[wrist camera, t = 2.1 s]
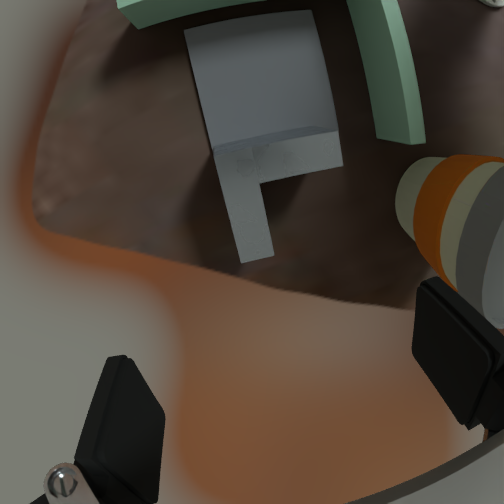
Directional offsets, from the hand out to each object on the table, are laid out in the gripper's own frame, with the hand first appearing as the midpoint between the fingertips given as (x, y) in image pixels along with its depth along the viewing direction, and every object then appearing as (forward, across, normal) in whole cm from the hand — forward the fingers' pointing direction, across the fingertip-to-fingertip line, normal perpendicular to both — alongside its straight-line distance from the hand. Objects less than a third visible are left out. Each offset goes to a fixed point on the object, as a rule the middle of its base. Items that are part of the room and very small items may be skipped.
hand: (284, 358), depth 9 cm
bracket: (+20, -3, -1) cm, 20 cm away
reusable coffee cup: (+20, -19, +4) cm, 28 cm away
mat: (+20, -4, -10) cm, 23 cm away
